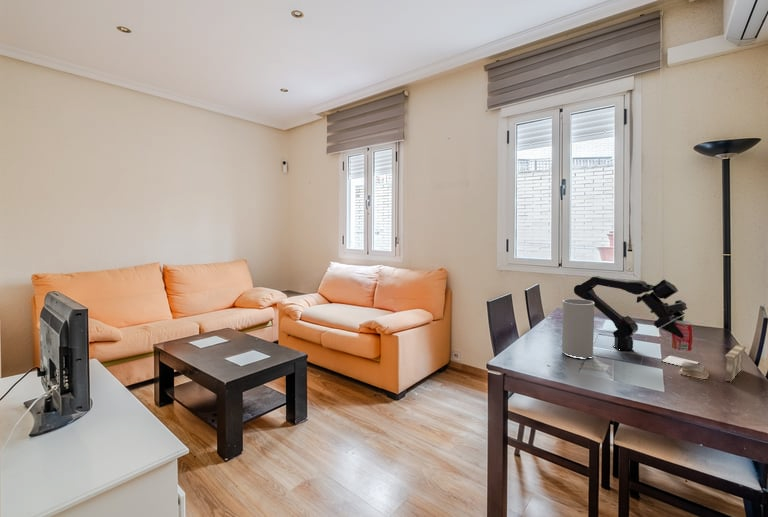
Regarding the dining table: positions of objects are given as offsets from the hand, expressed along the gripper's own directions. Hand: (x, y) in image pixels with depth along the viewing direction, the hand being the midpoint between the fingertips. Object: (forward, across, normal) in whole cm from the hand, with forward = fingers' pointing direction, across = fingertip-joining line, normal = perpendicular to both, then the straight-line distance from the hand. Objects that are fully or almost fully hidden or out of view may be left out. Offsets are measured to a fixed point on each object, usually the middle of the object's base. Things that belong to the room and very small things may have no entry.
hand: (685, 335), depth 147 cm
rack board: (+19, 0, -2) cm, 19 cm away
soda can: (+4, 0, +6) cm, 7 cm away
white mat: (+8, 0, +10) cm, 12 cm away
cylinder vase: (-14, -24, +32) cm, 42 cm away
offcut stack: (+13, -12, +4) cm, 18 cm away
